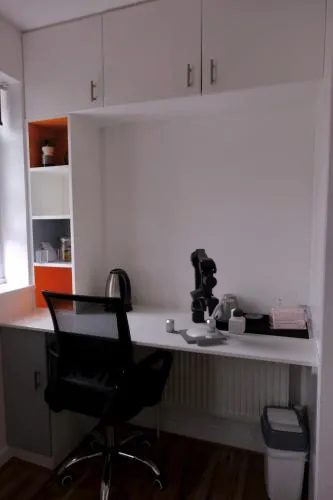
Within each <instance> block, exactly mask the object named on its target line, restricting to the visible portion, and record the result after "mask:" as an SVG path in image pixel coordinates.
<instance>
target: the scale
mask: <svg viewBox="0 0 333 500" xmlns="http://www.w3.org/2000/svg"><path fill="white" fill-rule="evenodd" d="M178 333H179V334H180V336H181V337H182V339H183V340H184V341H185V342H186V343H187V344H196V345H197V346H198V347H203V345H204V346H210V345H211V346H213V345H212V344H214V345H221V344H222V345H223V341H227V340H228V338H227V336H226V335H225V334H224V333H223V332H221V331H220V329H218V328H217V327H216V332H215V333H208V332H207V326H206V327H203V326H199V327H197V326H196V327H192V328H187V329H179V330H178Z"/></svg>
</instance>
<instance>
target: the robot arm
mask: <svg viewBox="0 0 333 500" xmlns="http://www.w3.org/2000/svg"><path fill="white" fill-rule="evenodd" d="M189 257H190V258H189V260H190V262H191V266H192V268H193V270H194V290H191V291H190V292H189V295H190V296H191V297H190V298H191V300H192V301H191V302H190V311H191V312H192V313H191V320H192V322H193V323H195V324H198V323H199V324H200V323H206V320H205V312H208V313H207V314H208V317H212V316H213V314H214V311H215V309H216V308H217V306H218V305H219V304H220V299H219V298H218V297H216V296H215V294H214V293H213V289H215V287H216V286H217V284H218V279H217V278H216V277H215V276H214V274H215V275H216V274H217V272H218V269H217V264H216V261H214V259H213V258H211V257H209V256H208V255H207V253H206V250H205V248H196V249H195V251H193V252H191V253H190V255H189Z"/></svg>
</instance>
